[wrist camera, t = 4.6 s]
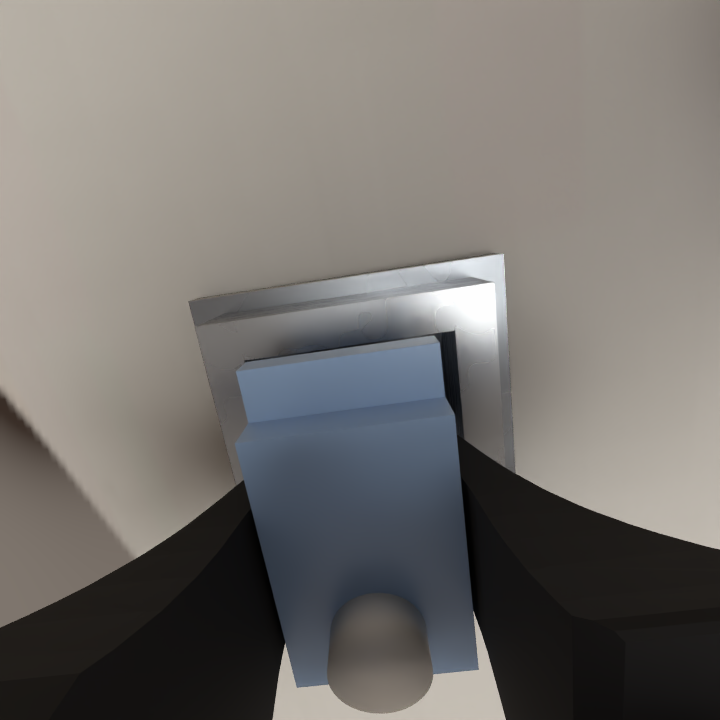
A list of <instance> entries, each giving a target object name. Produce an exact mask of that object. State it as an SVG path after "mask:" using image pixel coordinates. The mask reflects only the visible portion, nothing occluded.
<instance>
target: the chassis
mask: <svg viewBox="0 0 720 720" xmlns="http://www.w3.org/2000/svg"><path fill="white" fill-rule="evenodd" d="M189 305H190V309H191V313H192V317H193V320H194V324H195V330H196V334H197V338H198V341H199V345H200V349H201V353H202V357H203V361H204V364H205V368H206V372H207V376H208V380H209V383H210V387H211V391H212V395H213V399H214V403H215V406H216V410H217V414H218V418H219V422H220V425H221V429H222V433H223V437H224V441H225V444H226V448H227V452H228V456H229V460H230V464H231V467H232V471H233V475H234V479H235V483H236V486H237V485H238V484H239V483H240V482H241V481H243V480H244V478H243V475H242V471H241V467H240V463H239V459H238V455H237V451H236V447H235V442H236V441H237V439H238V438H239V436H240V435H241V433H242V432H243V430H244V429H245V427H246V426H247V425H248V420H247V415H246V411H245V407H244V403H243V399H242V395H241V391H240V386H239V382H238V378H237V374H236V371H237V370H238V369H239V368H240V367H241V366H242V365H243V364H244V363H245V362H251V361H258V360H265V359H272V358H279V357H286V356H293V355H300V354H307V353H314V352H321V351H328V350H335V349H342V348H349V347H356V346H363V345H370V344H377V343H384V342H391V341H398V340H405V339H412V338H419V337H426V336H433V335H434V336H435V337H436V339H437V340H438V341H439V342H440V350H441V360H442V370H443V380H444V391H445V397H446V399H447V401H448V403H449V405H450V407H451V409H452V410H453V412H454V414H455V422H456V433H457V435H459V436H460V437H461V438H463V439H464V440H466V441H467V442H468V443H470V444H471V445H473V446H474V447H475V448H477V449H478V450H480V451H481V452H482V453H484V454H485V455H487V456H488V457H490V458H491V459H493V460H494V461H496V462H497V463H499V464H500V465H502V466H504V467H505V468H507V469H509V470H510V471H512V472H513V473H515V459H514V440H513V421H512V402H511V383H510V365H509V346H508V327H507V308H506V289H505V270H504V254H499V253H494V254H487V255H481V256H474V257H468V258H461V259H454V260H448V261H441V262H435V263H428V264H421V265H415V266H408V267H402V268H395V269H389V270H382V271H375V272H369V273H362V274H356V275H349V276H342V277H336V278H329V279H323V280H316V281H310V282H303V283H296V284H290V285H283V286H277V287H270V288H263V289H257V290H250V291H244V292H237V293H231V294H224V295H217V296H211V297H204V298H199V299H195V300H192V301H189Z"/></svg>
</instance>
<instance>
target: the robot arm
mask: <svg viewBox="0 0 720 720" xmlns="http://www.w3.org/2000/svg"><path fill="white" fill-rule="evenodd" d="M457 444H458V455H459V465H460V476H461V487H462V497H463V508H464V519H465V529H466V540H467V551H468V561H469V572H470V583H471V594H472V604H473V611H474V613H475V616H476V619H477V622H478V624H479V627H480V630H481V633H482V636H483V639H484V642H485V645H486V648H487V651H488V655H489V658H490V662H491V666H492V669H493V673H494V677H495V681H496V684H497V688H498V692H499V695H500V699H501V703H502V706H503V710H504V714H505V718H506V720H720V550H719V549H714V548H710V547H706V546H702V545H698V544H695V543H691V542H688V541H684V540H680V539H677V538H673V537H670V536H666V535H662V534H659V533H656V532H652V531H649V530H646V529H643V528H640V527H637V526H633V525H630V524H627V523H625V522H622V521H619V520H616V519H614V518H611V517H608V516H605V515H602V514H600V513H597V512H594V511H592V510H589V509H587V508H584V507H582V506H579V505H577V504H575V503H573V502H570V501H568V500H566V499H564V498H562V497H559V496H557V495H555V494H553V493H551V492H548V491H546V490H544V489H542V488H540V487H539V486H537V485H535V484H533V483H531V482H529V481H528V480H526V479H524V478H522V477H520V476H519V475H517V474H515V473H513V472H512V471H510V470H509V469H507V468H505V467H504V466H502V465H500V464H499V463H497V462H496V461H494V460H493V459H491V458H490V457H488V456H487V455H485V454H484V453H482V452H481V451H480V450H478V449H477V448H475V447H474V446H473V445H471V444H470V443H468V442H467V441H466V440H464V439H463V438H461V437H460V436H459V435H457ZM284 645H285V639H284V635H283V631H282V627H281V623H280V619H279V615H278V611H277V607H276V604H275V600H274V596H273V592H272V588H271V584H270V580H269V576H268V572H267V568H266V564H265V561H264V557H263V553H262V549H261V545H260V541H259V537H258V533H257V529H256V525H255V521H254V518H253V514H252V510H251V506H250V502H249V498H248V494H247V490H246V486H245V482H244V480H243V481H241V482H240V483H239V484H238V485H237V486H236V487H234V488H233V489H232V490H231V491H230V492H228V493H227V494H226V495H225V496H224V497H223V498H221V499H220V500H219V501H217V502H216V503H215V504H214V505H212V506H211V507H210V508H208V509H207V510H206V511H205V512H203V513H202V514H201V515H199V516H198V517H197V518H196V519H194V520H193V521H192V522H190V523H189V524H188V525H186V526H185V527H184V528H182V529H181V530H179V531H178V532H177V533H175V534H174V535H172V536H171V537H169V538H168V539H166V540H165V541H163V542H162V543H160V544H159V545H157V546H155V547H154V548H152V549H151V550H149V551H148V552H146V553H145V554H143V555H141V556H140V557H138V558H136V559H135V560H133V561H131V562H129V563H128V564H126V565H124V566H122V567H121V568H119V569H117V570H115V571H113V572H112V573H110V574H108V575H106V576H105V577H103V578H101V579H99V580H98V581H96V582H94V583H92V584H90V585H89V586H87V587H85V588H83V589H81V590H79V591H77V592H75V593H73V594H71V595H69V596H67V597H65V598H63V599H61V600H59V601H57V602H55V603H53V604H51V605H49V606H46V607H45V608H42V609H40V610H38V611H36V612H34V613H32V614H30V615H28V616H26V617H23V618H21V619H19V620H17V621H14V622H12V623H10V624H8V625H5V626H3V627H1V628H0V720H272V718H273V711H274V704H275V697H276V690H277V683H278V676H279V670H280V665H281V660H282V655H283V650H284Z"/></svg>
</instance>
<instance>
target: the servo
mask: <svg viewBox="0 0 720 720" xmlns="http://www.w3.org/2000/svg"><path fill="white" fill-rule="evenodd" d="M236 374H237V378H238V382H239V386H240V391H241V395H242V399H243V403H244V407H245V411H246V415H247V420H248V425H247V426H246V427H245V429H244V430H243V432H242V433H241V435H240V436H239V438H238V439H237V441H236V442H235V447H236V451H237V455H238V459H239V463H240V467H241V471H242V475H243V478H244V482H245V486H246V490H247V494H248V498H249V502H250V506H251V510H252V514H253V518H254V521H255V525H256V529H257V533H258V537H259V541H260V545H261V549H262V553H263V557H264V561H265V564H266V568H267V572H268V576H269V580H270V584H271V588H272V592H273V596H274V600H275V604H276V607H277V611H278V615H279V619H280V623H281V627H282V631H283V635H284V639H285V643H286V647H287V651H288V654H289V658H290V662H291V666H292V670H293V674H294V678H295V682H296V686H297V688H298V687H308V686H318V685H328V684H329V685H330V687H331V689H332V691H333V692H334V694H335V695H336V696H337V697H338V698H339V699H340V700H341V701H342V702H344V703H345V704H347V705H349V706H351V707H353V708H355V709H358V710H360V711H364V712H369V713H391V712H396V711H400V710H403V709H406V708H408V707H410V706H412V705H413V704H415V703H417V702H418V701H419V700H420V699H422V697H423V696H424V695H425V694H426V693H427V691H428V690H429V688H430V686H431V683H432V680H433V674H440V673H450V672H460V671H470V670H479V668H478V658H477V647H476V636H475V626H474V615H473V604H472V594H471V583H470V572H469V561H468V551H467V540H466V529H465V519H464V508H463V497H462V487H461V476H460V465H459V455H458V444H457V433H456V422H455V414H454V412H453V410H452V409H451V407H450V405H449V403H448V401H447V399H446V397H445V391H444V380H443V370H442V360H441V350H440V342H439V341H438V340H437V339H436V337H435V336H434V335H433V336H426V337H419V338H412V339H405V340H398V341H391V342H384V343H377V344H370V345H363V346H356V347H349V348H342V349H335V350H328V351H321V352H314V353H307V354H300V355H293V356H286V357H279V358H272V359H265V360H258V361H251V362H245V363H244V364H243V365H242V366H241V367H240V368H239V369H238V370H237V371H236Z"/></svg>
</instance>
